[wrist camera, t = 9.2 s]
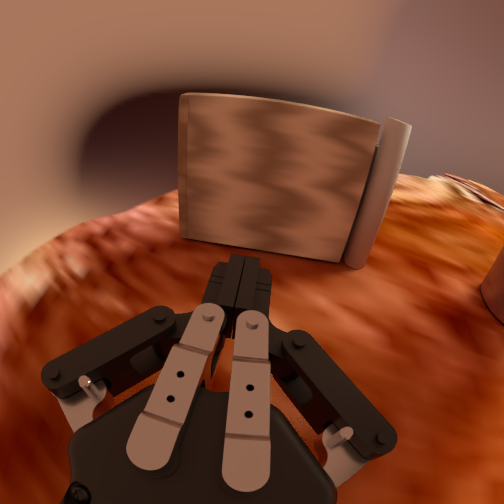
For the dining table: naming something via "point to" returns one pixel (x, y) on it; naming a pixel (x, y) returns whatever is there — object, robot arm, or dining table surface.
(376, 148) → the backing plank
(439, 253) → the dining table surface
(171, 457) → the robot arm
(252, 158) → the ash plank
